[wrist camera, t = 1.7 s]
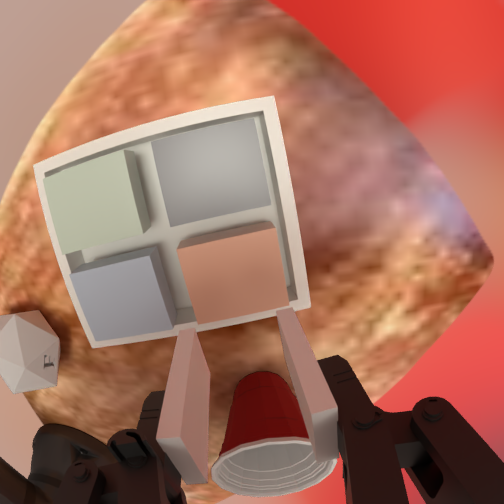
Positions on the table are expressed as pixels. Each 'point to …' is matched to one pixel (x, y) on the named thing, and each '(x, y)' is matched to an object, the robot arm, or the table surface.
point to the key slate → (125, 295)
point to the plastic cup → (267, 442)
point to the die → (28, 352)
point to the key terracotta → (233, 272)
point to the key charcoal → (211, 172)
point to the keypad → (170, 237)
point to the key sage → (97, 202)
